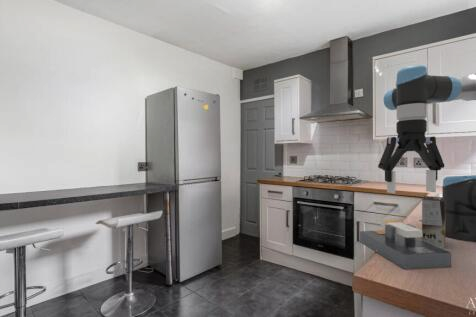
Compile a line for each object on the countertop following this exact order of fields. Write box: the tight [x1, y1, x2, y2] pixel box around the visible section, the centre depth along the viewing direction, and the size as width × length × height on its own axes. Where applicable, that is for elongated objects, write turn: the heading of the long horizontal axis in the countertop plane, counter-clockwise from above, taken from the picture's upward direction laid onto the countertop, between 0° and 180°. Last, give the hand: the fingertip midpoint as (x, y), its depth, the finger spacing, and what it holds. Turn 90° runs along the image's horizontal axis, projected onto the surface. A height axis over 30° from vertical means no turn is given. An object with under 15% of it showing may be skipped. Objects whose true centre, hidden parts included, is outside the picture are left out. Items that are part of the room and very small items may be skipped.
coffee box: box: [421, 195, 446, 249], centre depth 92 cm, size 9×6×16 cm
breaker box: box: [359, 223, 452, 270], centre depth 83 cm, size 14×22×9 cm, turn 5°
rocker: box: [380, 219, 422, 238], centre depth 83 cm, size 5×12×2 cm, turn 5°
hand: (411, 192), depth 78 cm, fingers open, 12 cm apart
